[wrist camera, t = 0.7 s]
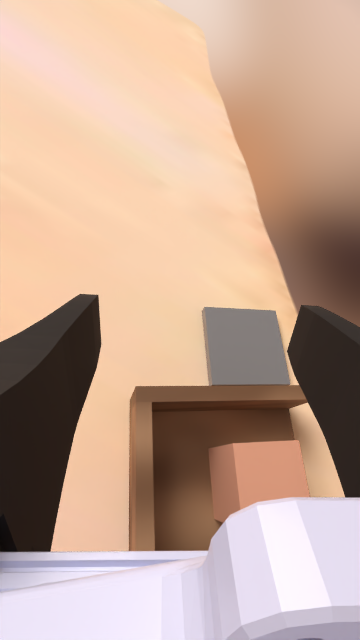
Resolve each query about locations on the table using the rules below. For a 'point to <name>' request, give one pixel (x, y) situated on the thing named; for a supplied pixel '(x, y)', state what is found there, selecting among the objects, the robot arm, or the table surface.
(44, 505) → the robot arm
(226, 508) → the block
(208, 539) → the caddy
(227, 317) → the coaster
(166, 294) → the table surface
